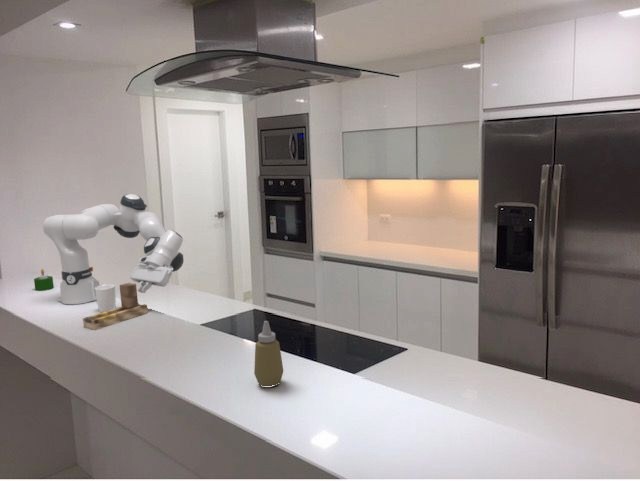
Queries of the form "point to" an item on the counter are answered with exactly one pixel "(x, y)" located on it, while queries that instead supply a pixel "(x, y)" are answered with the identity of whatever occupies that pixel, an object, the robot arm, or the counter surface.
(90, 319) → the beam
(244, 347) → the counter surface
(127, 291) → the plate
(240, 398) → the counter surface
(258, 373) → the squeeze bottle
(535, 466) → the counter surface
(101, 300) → the white cup
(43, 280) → the candle
